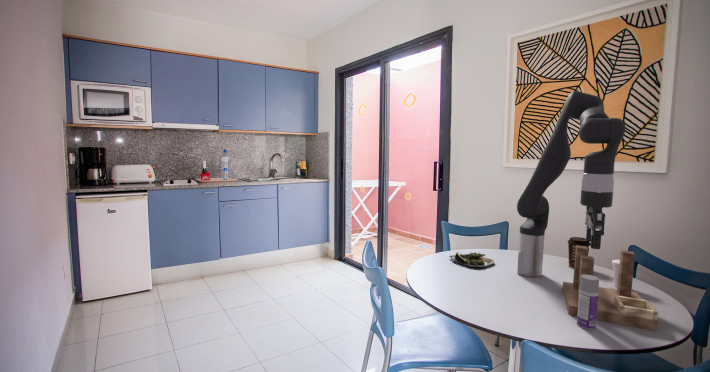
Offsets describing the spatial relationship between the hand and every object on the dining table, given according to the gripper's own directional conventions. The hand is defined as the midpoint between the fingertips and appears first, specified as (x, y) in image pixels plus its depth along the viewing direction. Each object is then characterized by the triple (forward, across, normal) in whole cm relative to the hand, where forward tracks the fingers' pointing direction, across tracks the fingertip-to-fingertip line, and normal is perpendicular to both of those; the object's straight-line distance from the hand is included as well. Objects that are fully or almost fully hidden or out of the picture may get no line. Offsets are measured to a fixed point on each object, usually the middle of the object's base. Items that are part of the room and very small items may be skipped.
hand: (592, 244), depth 101 cm
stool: (+25, -17, +7) cm, 31 cm away
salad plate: (+25, -45, -39) cm, 65 cm away
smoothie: (+25, -41, +16) cm, 50 cm away
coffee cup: (+25, -59, +4) cm, 64 cm away
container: (+25, 0, 0) cm, 25 cm away
